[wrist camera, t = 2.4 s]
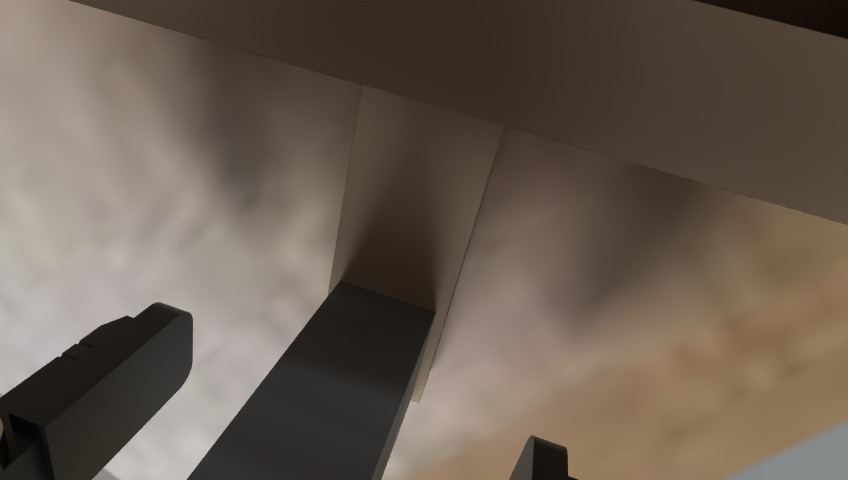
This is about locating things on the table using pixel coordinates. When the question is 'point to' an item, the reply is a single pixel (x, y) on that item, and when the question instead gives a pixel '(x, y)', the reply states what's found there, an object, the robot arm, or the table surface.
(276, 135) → the table surface
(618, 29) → the frame
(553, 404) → the table surface
